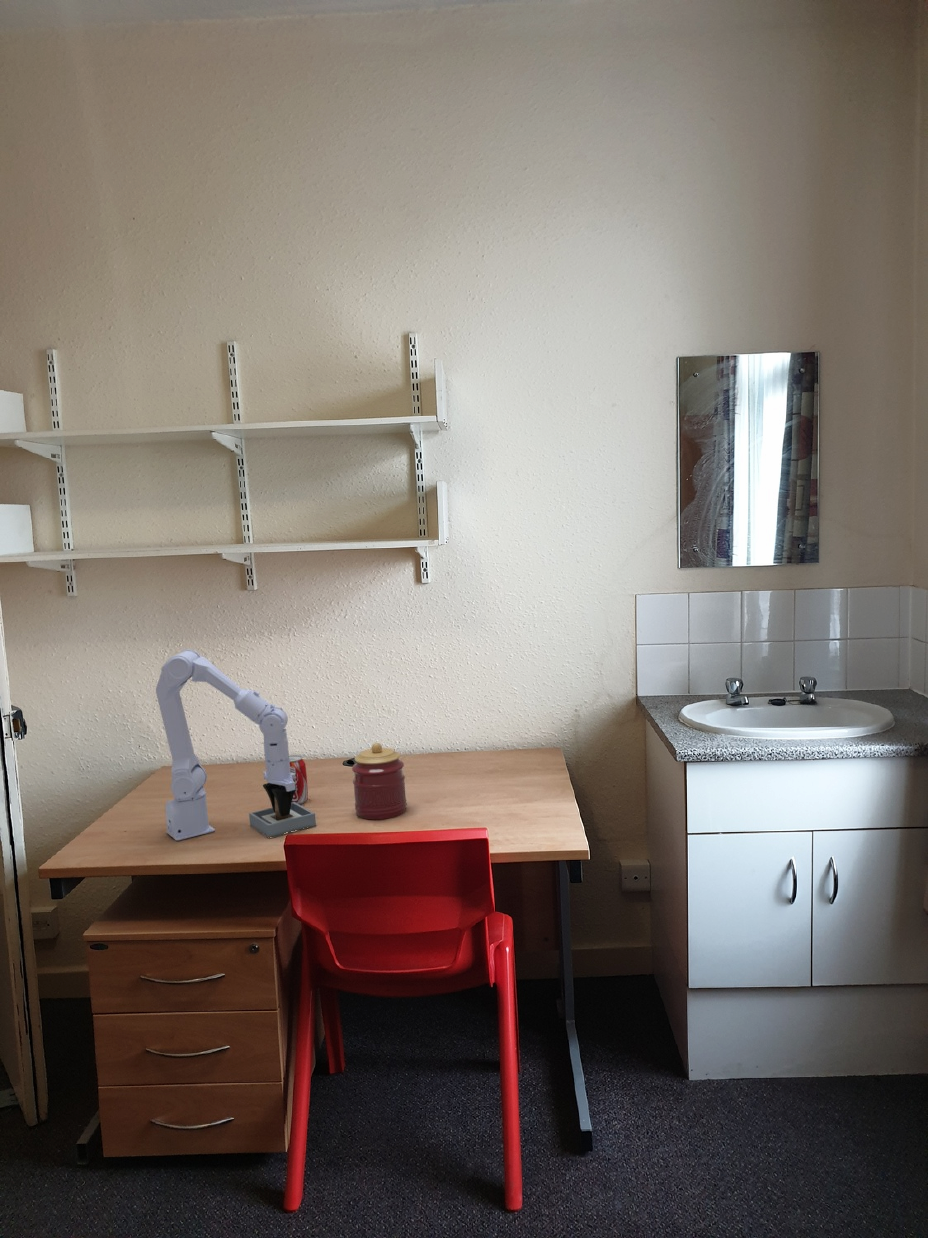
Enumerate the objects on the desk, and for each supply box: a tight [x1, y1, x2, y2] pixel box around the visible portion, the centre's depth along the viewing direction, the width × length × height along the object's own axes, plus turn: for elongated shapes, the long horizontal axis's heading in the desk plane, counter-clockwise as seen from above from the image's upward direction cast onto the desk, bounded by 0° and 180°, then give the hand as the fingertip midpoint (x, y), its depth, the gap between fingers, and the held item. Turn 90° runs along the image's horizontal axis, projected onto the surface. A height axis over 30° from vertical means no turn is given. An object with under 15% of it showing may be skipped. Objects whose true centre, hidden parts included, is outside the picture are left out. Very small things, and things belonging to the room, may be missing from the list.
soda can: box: [289, 754, 309, 805], centre depth 237 cm, size 7×7×12 cm
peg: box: [274, 796, 288, 821], centre depth 219 cm, size 3×3×7 cm
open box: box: [248, 802, 317, 839], centre depth 220 cm, size 12×12×3 cm
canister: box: [351, 742, 408, 820], centre depth 225 cm, size 13×13×18 cm
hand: (281, 813), depth 220 cm, fingers open, 3 cm apart
